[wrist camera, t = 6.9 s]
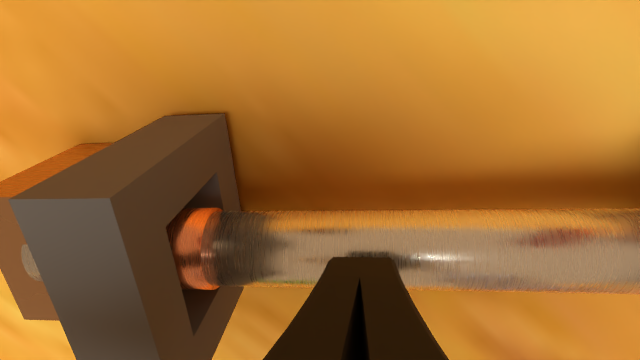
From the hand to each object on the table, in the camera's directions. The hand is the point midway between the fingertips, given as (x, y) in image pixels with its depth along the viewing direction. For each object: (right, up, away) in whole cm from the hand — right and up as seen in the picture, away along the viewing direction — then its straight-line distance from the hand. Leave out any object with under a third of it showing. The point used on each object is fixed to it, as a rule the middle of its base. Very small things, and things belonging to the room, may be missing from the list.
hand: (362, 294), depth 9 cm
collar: (-5, +2, +5) cm, 7 cm away
